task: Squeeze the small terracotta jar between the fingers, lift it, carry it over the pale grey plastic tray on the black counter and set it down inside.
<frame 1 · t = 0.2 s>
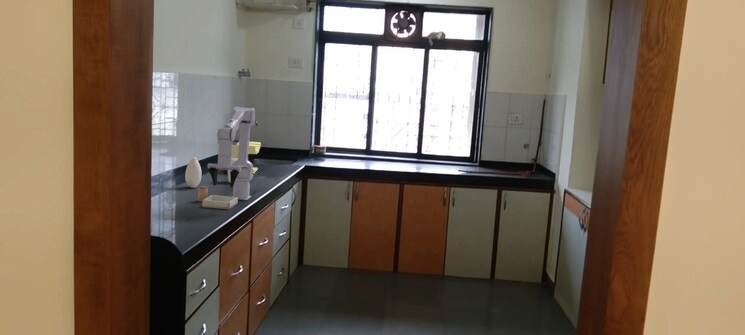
hand: (223, 186, 248), 10 cm above the counter, tool pointing down, fingers open, 7 cm apart
foam cup: (234, 182, 320), on the counter
sauce bottle: (192, 187, 293), on the counter
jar: (202, 200, 262), on the counter
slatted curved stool: (243, 171, 366), on the counter
tray: (220, 205, 256), on the counter
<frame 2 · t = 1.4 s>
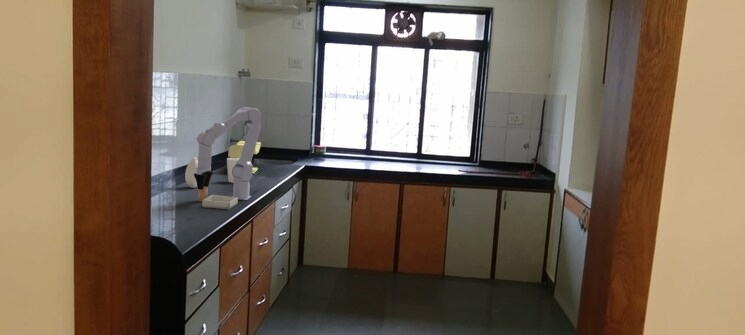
hand: (203, 188, 261), 6 cm above the counter, tool pointing down, fingers open, 7 cm apart
nothing on the counter moved.
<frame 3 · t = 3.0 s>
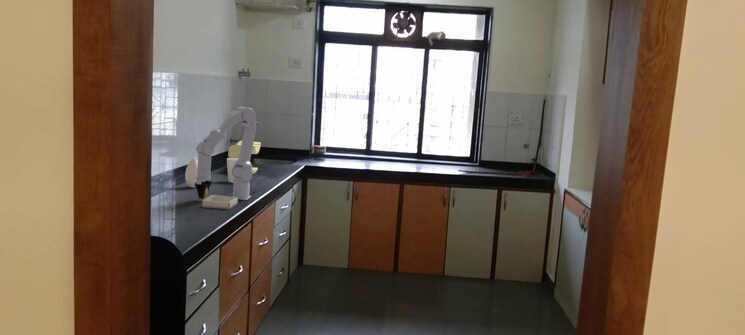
hand: (202, 197, 262), 2 cm above the counter, tool pointing down, fingers closed on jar, 4 cm apart
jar: (202, 200, 262), on the counter, touching gripper
everything else where it was.
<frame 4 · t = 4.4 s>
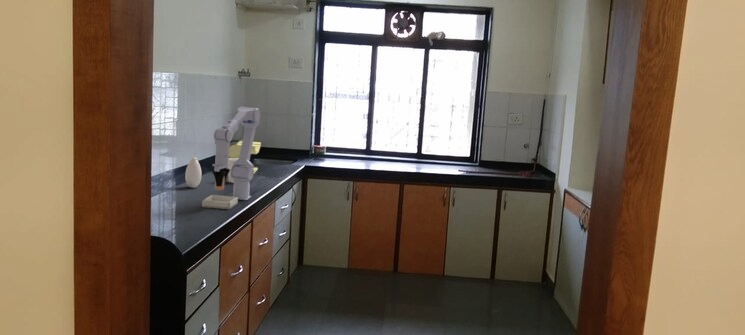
hand: (220, 185, 255), 9 cm above the counter, tool pointing down, fingers closed on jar, 4 cm apart
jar: (219, 189, 255), point 7 cm above the counter, touching gripper
everything else where it was.
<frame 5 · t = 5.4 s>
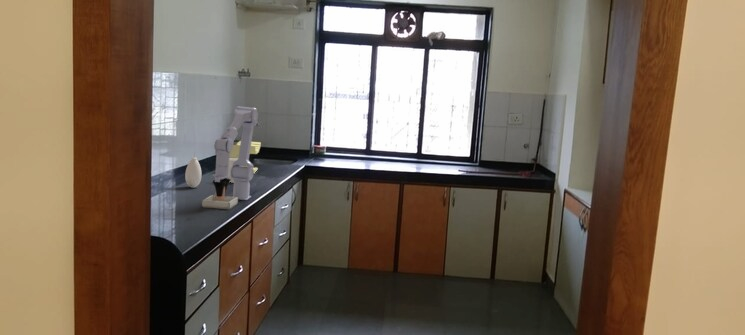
hand: (220, 195, 255), 4 cm above the counter, tool pointing down, fingers closed on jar, 4 cm apart
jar: (219, 199, 255), point 3 cm above the counter, touching gripper
everything else where it was.
when the fingers open (4 cm above the counter, at t = 6.1 s): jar drops 2 cm, resting on tray.
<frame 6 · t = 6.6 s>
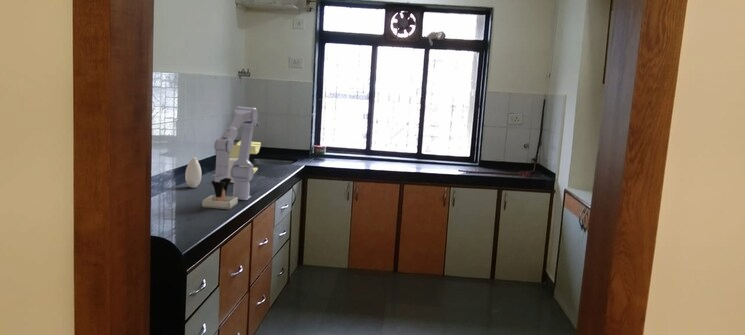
hand: (220, 195, 255), 4 cm above the counter, tool pointing down, fingers open, 7 cm apart
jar: (219, 203, 256), point 1 cm above the counter, touching tray
everything else where it was.
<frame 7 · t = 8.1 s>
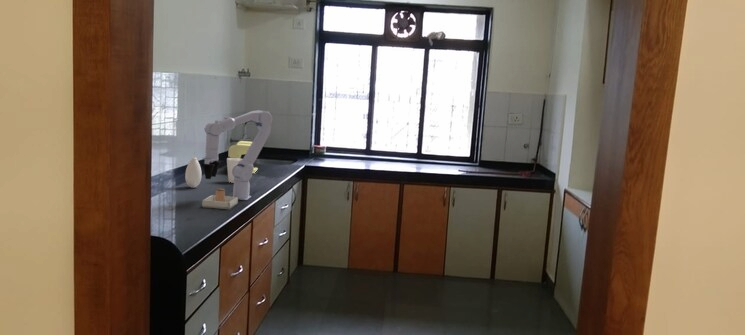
hand: (210, 177, 265), 10 cm above the counter, tool pointing down, fingers open, 7 cm apart
nothing on the counter moved.
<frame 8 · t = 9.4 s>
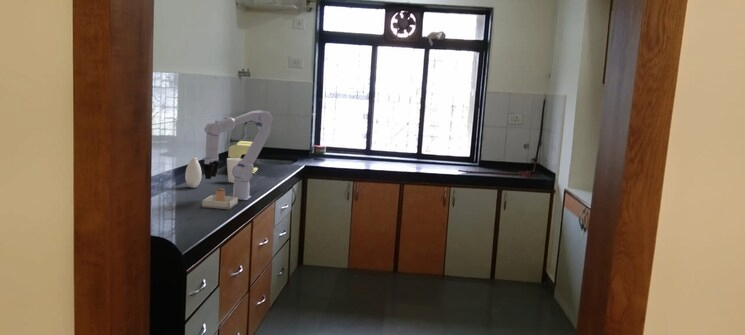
hand: (210, 177, 265), 10 cm above the counter, tool pointing down, fingers open, 7 cm apart
nothing on the counter moved.
at the end: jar inside the target area on the tray (0.3 cm from its centre), point 0.8 cm above the tray's base; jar tilted 0°; the gripper is holding nothing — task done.
